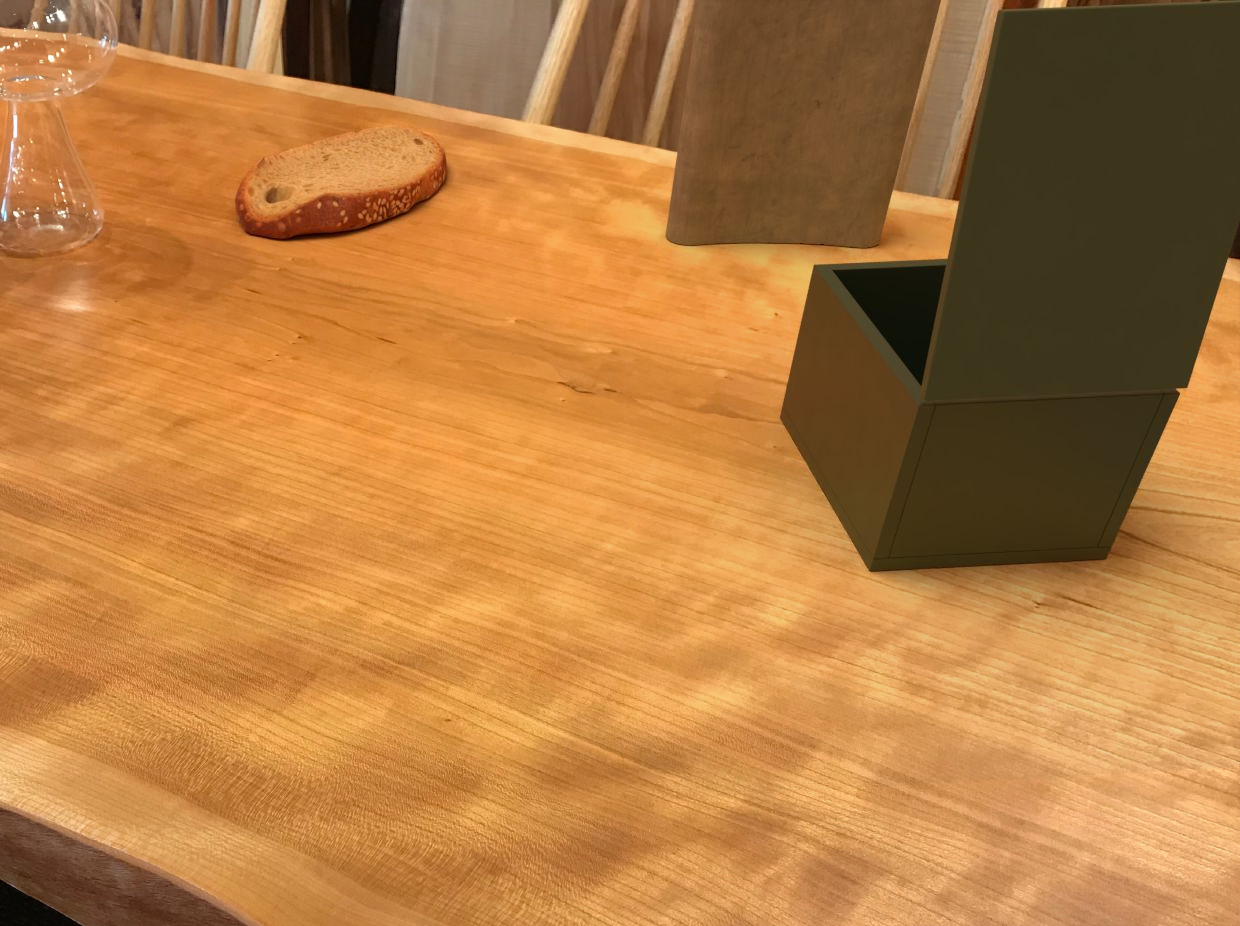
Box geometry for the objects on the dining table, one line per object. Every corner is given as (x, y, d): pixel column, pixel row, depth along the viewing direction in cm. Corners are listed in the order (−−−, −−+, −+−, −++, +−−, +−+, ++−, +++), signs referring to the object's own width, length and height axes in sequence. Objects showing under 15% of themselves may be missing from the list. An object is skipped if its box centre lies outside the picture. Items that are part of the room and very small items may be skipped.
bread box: (779, 417, 80) (813, 264, 73) (982, 407, 80) (1034, 254, 74) (869, 571, 68) (919, 405, 62) (1106, 559, 68) (1181, 393, 62)
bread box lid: (997, 9, 53) (1004, 10, 53) (1300, -3, 53) (1310, -2, 53) (918, 396, 62) (924, 401, 61) (1180, 384, 62) (1187, 388, 61)
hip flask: (667, 244, 99) (709, -50, 86) (662, 223, 102) (702, -65, 89) (883, 248, 97) (960, -50, 84) (872, 226, 100) (944, -65, 87)
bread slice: (438, 147, 115) (439, 103, 112) (467, 231, 101) (469, 183, 99) (234, 157, 114) (231, 113, 112) (236, 243, 101) (232, 195, 98)
